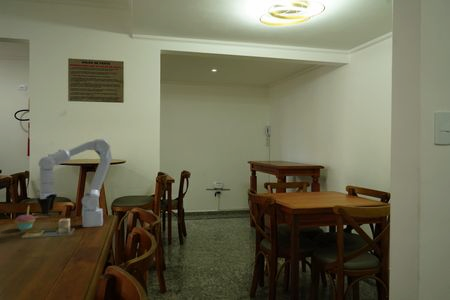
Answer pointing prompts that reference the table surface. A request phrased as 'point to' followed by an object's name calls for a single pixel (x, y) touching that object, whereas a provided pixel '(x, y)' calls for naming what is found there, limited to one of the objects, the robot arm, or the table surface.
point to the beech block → (64, 226)
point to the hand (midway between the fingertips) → (47, 211)
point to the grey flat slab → (45, 233)
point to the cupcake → (25, 221)
